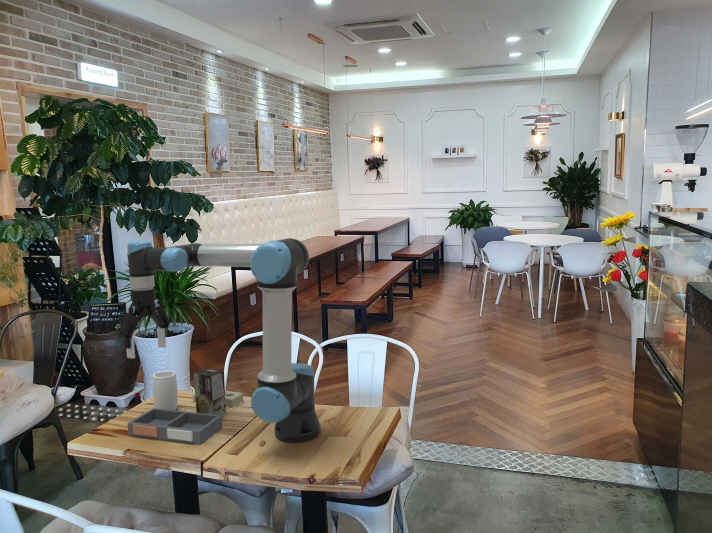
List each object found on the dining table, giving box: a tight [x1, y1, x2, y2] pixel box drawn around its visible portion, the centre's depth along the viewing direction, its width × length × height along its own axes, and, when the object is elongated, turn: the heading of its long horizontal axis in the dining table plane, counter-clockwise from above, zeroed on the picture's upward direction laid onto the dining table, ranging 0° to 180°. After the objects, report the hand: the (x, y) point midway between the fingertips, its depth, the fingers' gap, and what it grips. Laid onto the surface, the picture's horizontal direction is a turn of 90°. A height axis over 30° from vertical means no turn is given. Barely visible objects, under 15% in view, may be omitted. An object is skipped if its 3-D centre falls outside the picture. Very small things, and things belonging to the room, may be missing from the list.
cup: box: [152, 370, 179, 410], centre depth 205 cm, size 8×8×14 cm
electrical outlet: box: [192, 390, 244, 409], centre depth 214 cm, size 7×4×18 cm
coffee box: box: [193, 367, 227, 417], centre depth 201 cm, size 9×6×16 cm
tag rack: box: [127, 407, 223, 445], centre depth 188 cm, size 27×14×4 cm, turn 73°
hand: (147, 352), depth 185 cm, fingers open, 13 cm apart
